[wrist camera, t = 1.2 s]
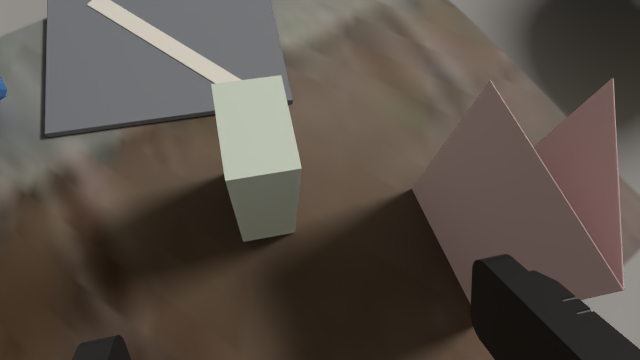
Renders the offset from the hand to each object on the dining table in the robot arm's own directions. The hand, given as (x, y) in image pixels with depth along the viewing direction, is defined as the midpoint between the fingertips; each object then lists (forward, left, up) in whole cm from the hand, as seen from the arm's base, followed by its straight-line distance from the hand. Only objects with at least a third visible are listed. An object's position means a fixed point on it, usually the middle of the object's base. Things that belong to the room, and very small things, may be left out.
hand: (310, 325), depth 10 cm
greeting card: (+14, +6, -23) cm, 27 cm away
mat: (-6, +28, -23) cm, 36 cm away
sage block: (0, +12, -23) cm, 26 cm away
